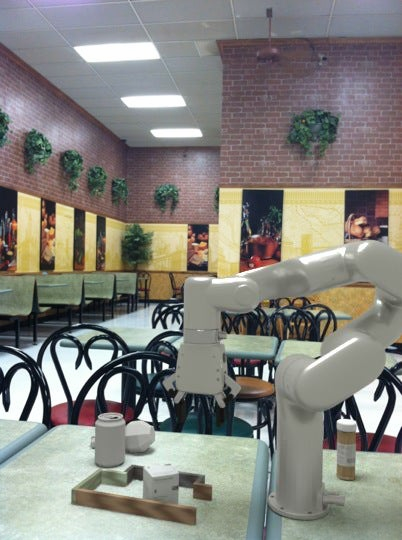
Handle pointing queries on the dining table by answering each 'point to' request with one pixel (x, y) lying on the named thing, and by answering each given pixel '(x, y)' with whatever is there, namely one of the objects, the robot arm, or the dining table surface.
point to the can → (110, 440)
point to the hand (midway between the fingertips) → (200, 423)
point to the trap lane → (139, 506)
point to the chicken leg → (136, 436)
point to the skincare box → (161, 483)
